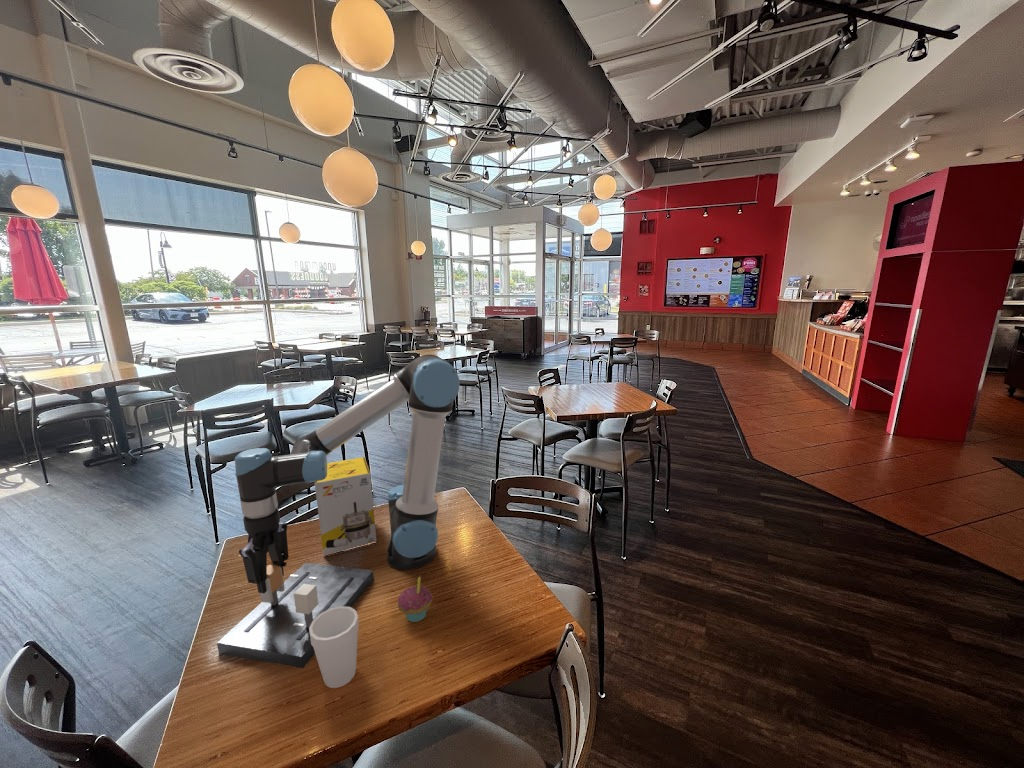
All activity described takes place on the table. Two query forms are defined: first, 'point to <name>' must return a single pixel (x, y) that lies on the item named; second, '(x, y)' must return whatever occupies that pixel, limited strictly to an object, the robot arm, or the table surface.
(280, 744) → the table surface
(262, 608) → the fader console
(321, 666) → the foam cup
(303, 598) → the fader cream
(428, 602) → the cupcake
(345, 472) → the packaging box
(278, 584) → the fader orange
